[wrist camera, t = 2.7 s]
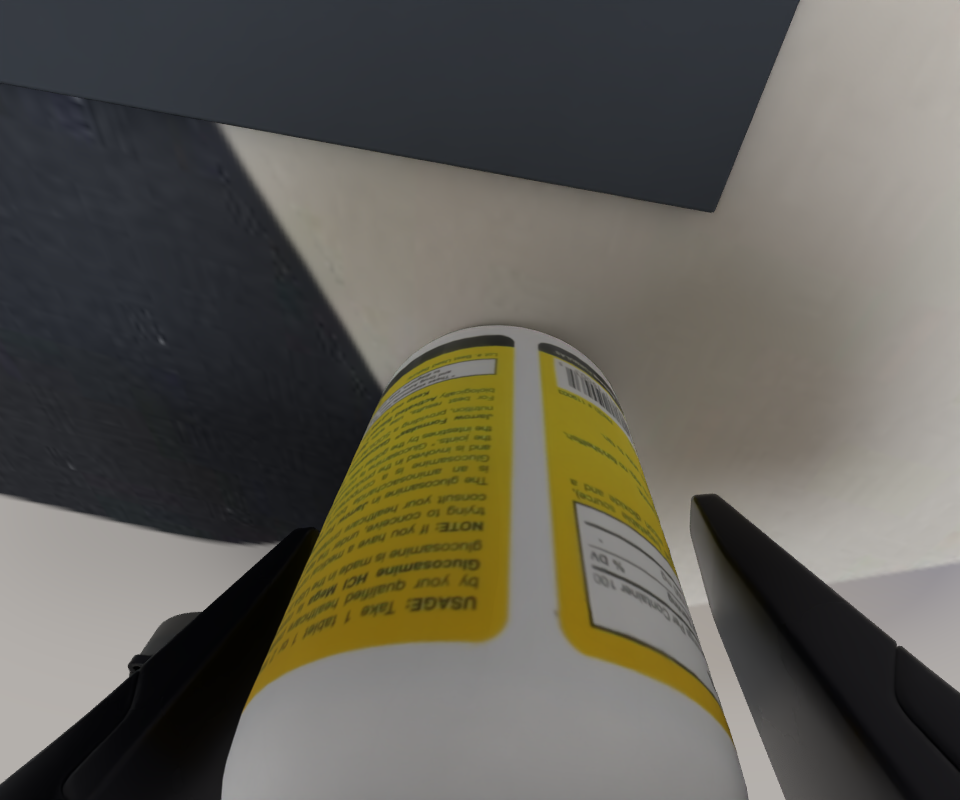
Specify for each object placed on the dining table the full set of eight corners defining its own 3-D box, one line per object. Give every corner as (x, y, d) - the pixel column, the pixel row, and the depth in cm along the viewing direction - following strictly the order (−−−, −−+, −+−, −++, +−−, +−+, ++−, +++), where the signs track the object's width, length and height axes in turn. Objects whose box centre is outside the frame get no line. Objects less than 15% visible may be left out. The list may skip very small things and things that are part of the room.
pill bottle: (376, 493, 14) (99, 1263, 5) (389, 293, 11) (-428, 1548, 1) (582, 528, 14) (700, 1335, 5) (658, 343, 11) (1428, 1726, 2)
